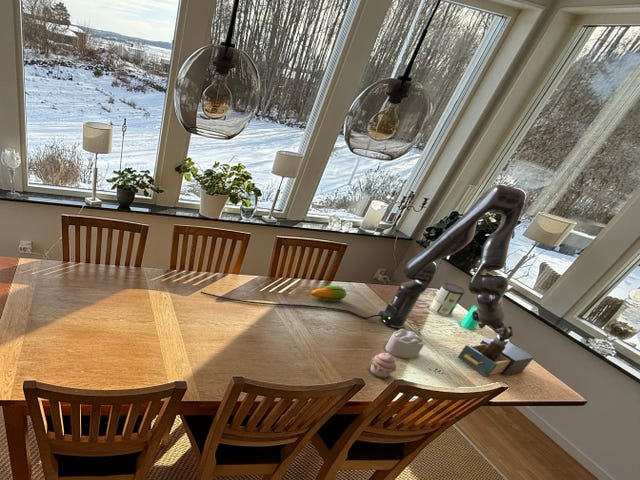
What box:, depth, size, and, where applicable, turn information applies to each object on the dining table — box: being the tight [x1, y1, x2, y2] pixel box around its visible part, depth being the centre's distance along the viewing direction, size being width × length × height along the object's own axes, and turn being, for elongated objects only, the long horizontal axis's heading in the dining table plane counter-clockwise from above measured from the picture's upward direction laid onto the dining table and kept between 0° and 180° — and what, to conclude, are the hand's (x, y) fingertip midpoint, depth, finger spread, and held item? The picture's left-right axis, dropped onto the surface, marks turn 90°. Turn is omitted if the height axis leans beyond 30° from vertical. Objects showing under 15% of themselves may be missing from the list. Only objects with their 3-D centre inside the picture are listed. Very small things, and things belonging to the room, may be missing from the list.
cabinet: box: [479, 337, 535, 377], centre depth 172 cm, size 12×14×8 cm
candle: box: [460, 305, 478, 331], centre depth 197 cm, size 6×6×12 cm
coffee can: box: [428, 282, 466, 317], centre depth 207 cm, size 10×10×14 cm
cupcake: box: [370, 352, 397, 379], centre depth 155 cm, size 9×9×10 cm
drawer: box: [457, 343, 512, 378], centre depth 168 cm, size 16×13×7 cm
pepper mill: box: [482, 334, 510, 362], centre depth 167 cm, size 5×5×14 cm
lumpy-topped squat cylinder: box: [385, 328, 426, 359], centre depth 171 cm, size 10×13×9 cm
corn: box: [310, 285, 347, 302], centre depth 203 cm, size 7×8×20 cm
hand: (492, 333), depth 158 cm, fingers open, 8 cm apart
